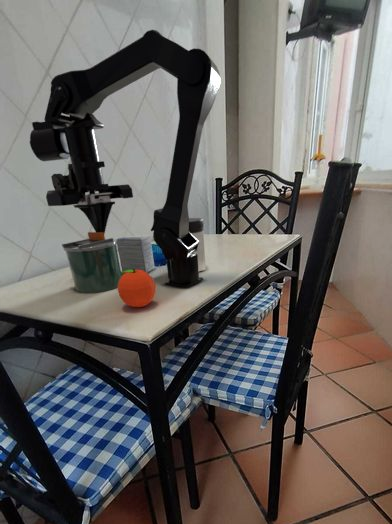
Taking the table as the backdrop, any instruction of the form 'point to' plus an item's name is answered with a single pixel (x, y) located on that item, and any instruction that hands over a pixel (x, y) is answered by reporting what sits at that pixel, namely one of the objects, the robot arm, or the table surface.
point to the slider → (92, 238)
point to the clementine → (136, 288)
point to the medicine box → (135, 253)
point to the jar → (198, 233)
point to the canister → (94, 265)
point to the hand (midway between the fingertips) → (101, 236)
